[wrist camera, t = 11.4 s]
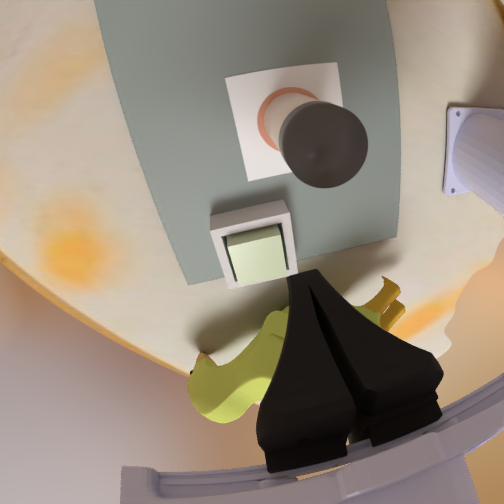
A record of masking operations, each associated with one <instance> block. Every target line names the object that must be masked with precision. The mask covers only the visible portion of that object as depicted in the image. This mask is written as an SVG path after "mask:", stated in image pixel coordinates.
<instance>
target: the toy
mask: <svg viewBox="0 0 504 504" xmlns="http://www.w3.org/2000/svg"><path fill="white" fill-rule="evenodd" d="M382 278H383V279H384V281H383V282H384V283H385V284H384V286H383V288H382V289H381V291H380V292H379V293H378V294H377V295H376V296H375V297H374V298H373V299H372V300H370V301H369V302H368V303H366V304H364V305H362V306H353V305H352V306H353V307H354V308H355V309H357V310H358V311H359V312H360V313H361V314H363V315H364V316H365V317H366V318H368V319H369V320H371V321H372V322H373V323H375V324H376V325H378V326H379V327H381V328H382V329H384V330H385V331H387V332H388V331H389V330H390V328H391V327H392V326H393V325H394V323H395V322H396V321H397V320H398V319H399V318H400V317H401V316H402V315H403V314H404V313H405V307H404V305H403V304H402V303H400V302H399V301H397V300H396V298H397V297H398V296H399V294H400V293H401V291H400V287H399V286H398V285H397V284H395V283H394V282H392V281H391V280H389V279H387V278H386V277H384V276H382ZM389 305H390V306H389ZM388 306H389V307H388ZM387 307H388V309H387V310H386V308H387ZM385 310H386V311H385ZM384 311H385V312H384ZM383 312H384V314H383ZM288 313H289V305H288V306H287V307H286V308H284V309H283V310H282V311H278V310H277V311H273V312H271V313H270V314H269V315H268V316H267V317H266V319H265V321H264V324H263V327H262V330H261V331H260V332H259V333H258V334H257V336H256V337H255V338H254V339H253V340H252V341H251V343H250V344H249V345H248V346H247V347H246V348H245V349H244V350H243V351H242V352H241V353H240V354H239V355H238V356H237V357H236V358H235V359H234V360H232V361H231V362H229V363H228V364H225V365H222V366H217V365H216V364H215V362H214V361H213V360H212V359H211V358H210V357H209V356H208V355H207V354H205V353H203V352H202V353H200V354H199V355H198V357H197V361H196V364H195V366H194V369H193V370H192V371H191V372H190V377H189V380H188V391H189V395H190V398H191V401H192V403H193V405H194V406H195V408H196V409H197V410H198V412H199V413H201V414H202V415H203V416H205V417H206V418H208V419H210V420H212V421H215V422H219V423H228V422H231V421H233V420H235V419H238V418H239V417H240V416H242V415H243V414H244V413H245V411H246V410H247V409H248V408H249V407H250V405H252V404H253V403H255V402H257V401H260V400H262V399H263V397H264V395H265V393H266V391H267V389H268V387H269V385H270V382H271V380H272V377H273V375H274V372H275V369H276V367H277V364H278V361H279V358H280V354H281V351H282V347H283V343H284V339H285V334H286V328H287V321H288ZM382 314H383V315H382Z"/></svg>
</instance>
